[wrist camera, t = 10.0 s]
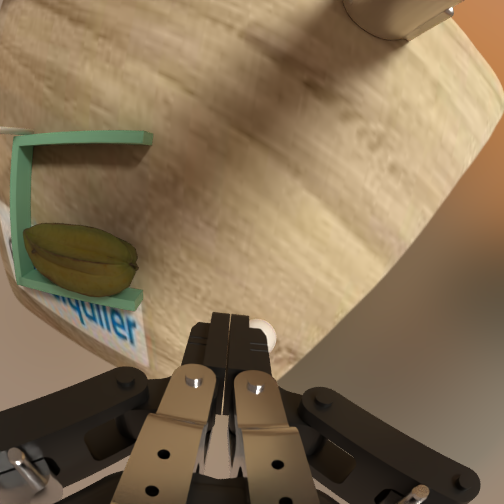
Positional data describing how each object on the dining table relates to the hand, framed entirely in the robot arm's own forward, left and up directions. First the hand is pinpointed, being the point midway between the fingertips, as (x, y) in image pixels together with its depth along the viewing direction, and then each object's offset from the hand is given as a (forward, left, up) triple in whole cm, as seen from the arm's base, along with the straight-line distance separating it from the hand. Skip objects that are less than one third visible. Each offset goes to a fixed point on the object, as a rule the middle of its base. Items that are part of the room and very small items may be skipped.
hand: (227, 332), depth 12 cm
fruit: (+16, +3, -19) cm, 25 cm away
